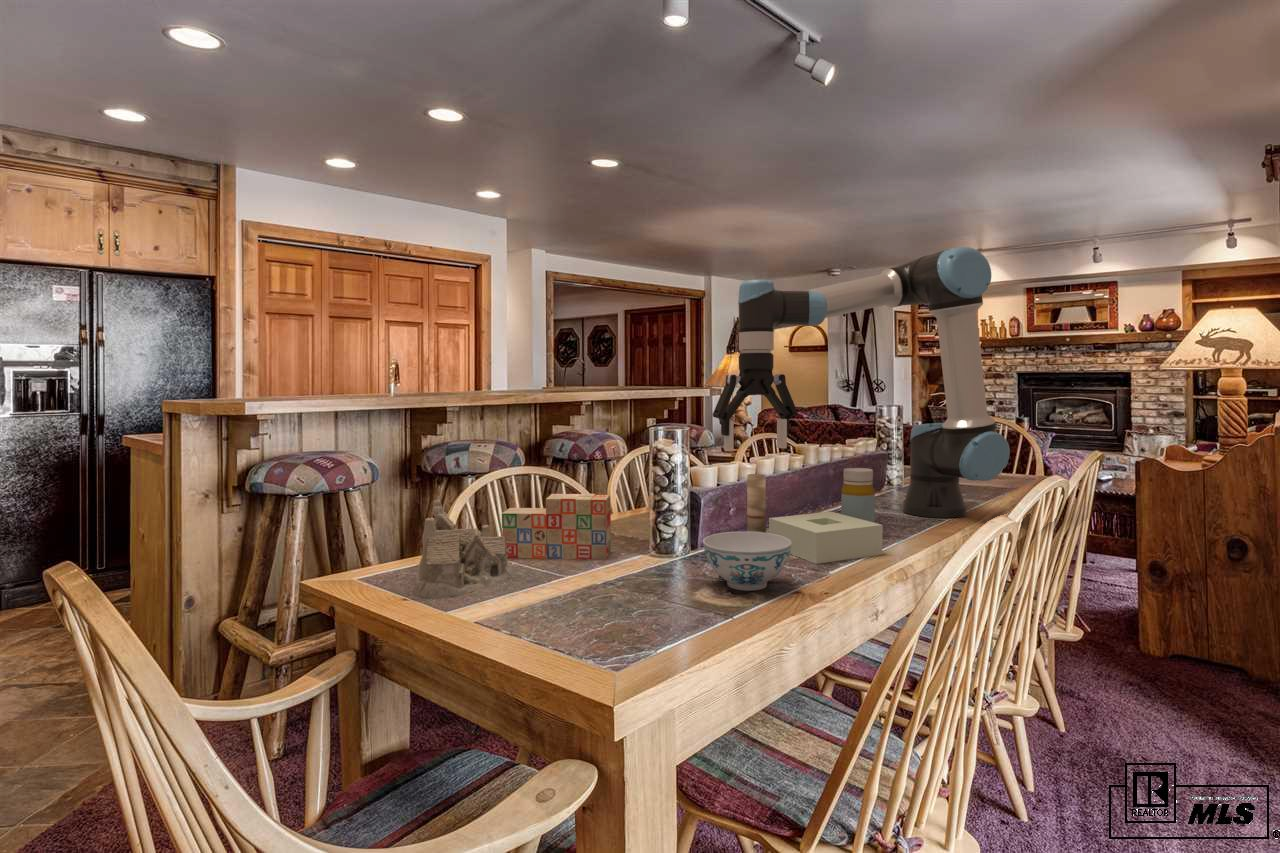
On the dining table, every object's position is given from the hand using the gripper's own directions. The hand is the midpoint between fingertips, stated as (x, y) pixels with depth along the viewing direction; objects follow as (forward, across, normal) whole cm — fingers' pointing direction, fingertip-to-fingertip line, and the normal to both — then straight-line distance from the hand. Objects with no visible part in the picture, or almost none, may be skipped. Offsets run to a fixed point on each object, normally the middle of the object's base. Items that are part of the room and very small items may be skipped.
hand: (755, 449), depth 158 cm
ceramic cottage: (+20, +65, +7) cm, 69 cm away
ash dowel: (+20, 0, 0) cm, 20 cm away
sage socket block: (+20, -6, +16) cm, 26 cm away
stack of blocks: (+20, +44, -5) cm, 49 cm away
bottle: (+20, -20, +9) cm, 30 cm away
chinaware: (+20, +21, +30) cm, 42 cm away
